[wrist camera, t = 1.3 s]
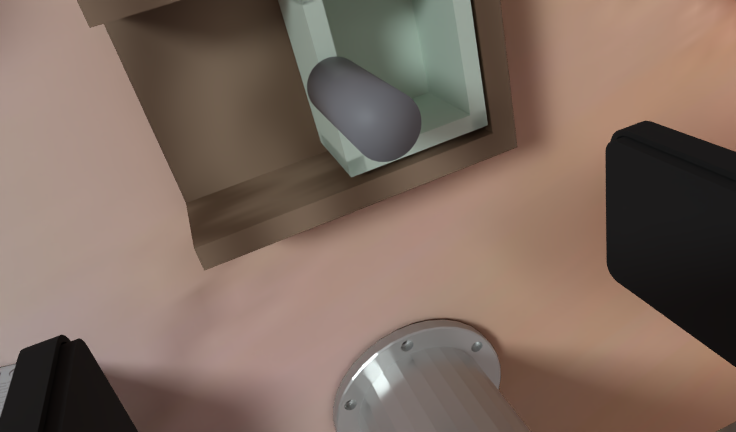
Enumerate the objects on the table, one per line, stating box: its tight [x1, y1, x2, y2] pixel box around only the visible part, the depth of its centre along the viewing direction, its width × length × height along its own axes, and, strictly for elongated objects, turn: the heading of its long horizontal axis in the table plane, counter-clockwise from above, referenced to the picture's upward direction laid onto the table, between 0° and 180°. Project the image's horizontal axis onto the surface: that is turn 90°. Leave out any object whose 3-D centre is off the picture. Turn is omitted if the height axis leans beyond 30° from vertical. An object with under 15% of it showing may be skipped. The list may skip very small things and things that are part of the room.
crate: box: [278, 0, 488, 177], centre depth 24 cm, size 8×8×11 cm
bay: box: [77, 0, 517, 270], centre depth 27 cm, size 16×12×6 cm
